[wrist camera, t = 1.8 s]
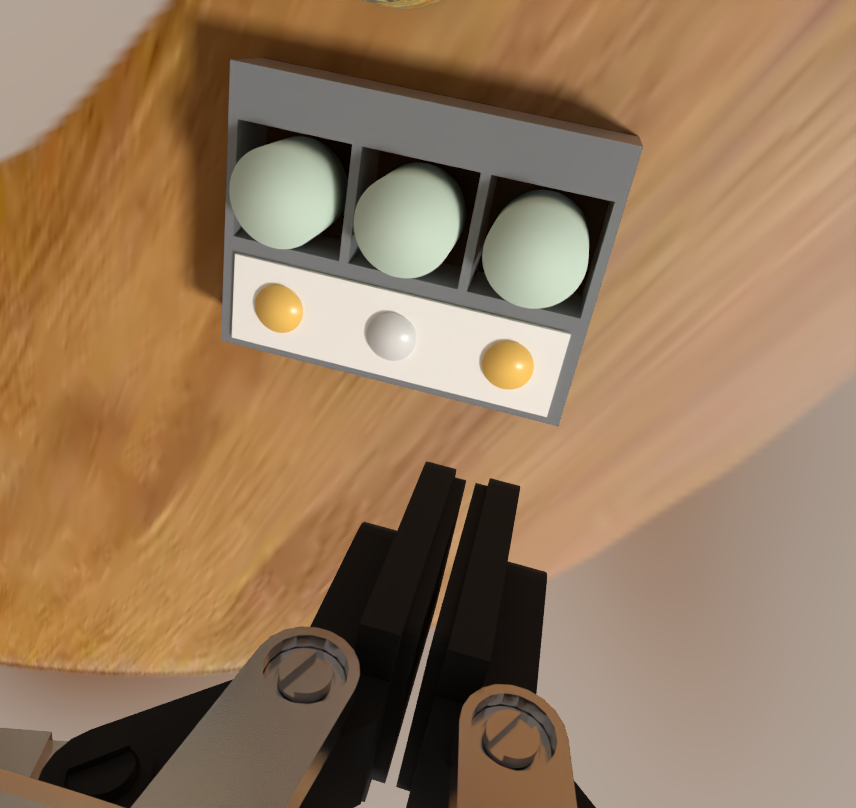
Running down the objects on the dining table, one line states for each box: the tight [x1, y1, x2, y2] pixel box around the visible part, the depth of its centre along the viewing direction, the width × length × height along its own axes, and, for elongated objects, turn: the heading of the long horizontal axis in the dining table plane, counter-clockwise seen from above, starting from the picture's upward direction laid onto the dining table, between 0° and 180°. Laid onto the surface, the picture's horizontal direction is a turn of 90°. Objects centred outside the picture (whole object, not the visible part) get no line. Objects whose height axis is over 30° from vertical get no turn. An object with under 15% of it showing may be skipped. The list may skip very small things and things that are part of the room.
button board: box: [221, 58, 643, 426], centre depth 31 cm, size 12×16×3 cm
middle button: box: [354, 163, 466, 278], centre depth 29 cm, size 4×4×3 cm
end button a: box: [229, 136, 348, 249], centre depth 29 cm, size 4×4×3 cm
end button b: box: [482, 190, 589, 309], centre depth 28 cm, size 4×4×3 cm
